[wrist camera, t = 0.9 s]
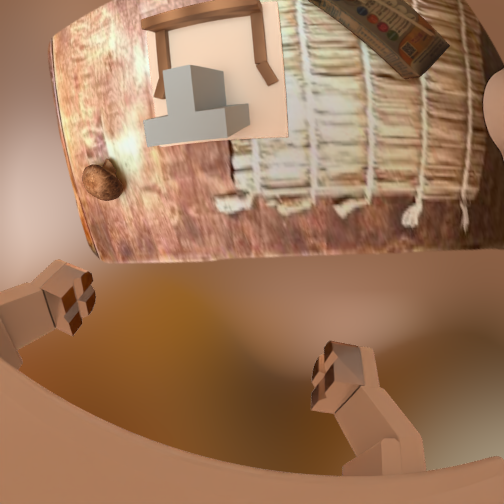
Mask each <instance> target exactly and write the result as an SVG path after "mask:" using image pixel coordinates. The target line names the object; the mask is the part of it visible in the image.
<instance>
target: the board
mask: <svg viewBox="0 0 504 504" xmlns="http://www.w3.org/2000/svg"><path fill="white" fill-rule="evenodd" d="M261 4H262V9H263V19H264V29H265V40H266V51H267V62H268V64H269V66H270V67H271V69H272V70H273V72H274V74H275V75H276V77H277V79H278V80H279V81H278V82H276V83H274V84H272V85H270V86H268V85H267V84H266V82H265V80H264V79H263V77H262V75H261V74H260V72H259V71H258V69H257V67H256V65H258V64H255V61H254V50H253V39H252V29H251V18H250V16H243V17H236V18H229V19H222V20H216V21H211V22H205V23H200V24H196V25H191V26H187V27H182V28H178V29H174V30H170V31H168V35H169V47H170V59H171V68H176V67H181V66H186V65H195V66H201V67H206V68H211V69H215V70H220V71H223V74H224V84H225V95H226V105H235V104H247V103H248V106H249V118H250V125H248V126H247V127H245V128H243V129H241V130H240V131H238V132H236V133H235V134H233V135H231V136H230V137H228V138H218V139H207V140H197V141H188V142H180V143H172V144H165V145H160V147H165V146H173V145H181V144H189V143H199V142H209V141H221V140H234V139H251V138H278V137H288V121H287V104H286V90H285V76H284V63H283V51H282V40H281V30H280V20H279V10H278V3H277V1H273V2H261ZM147 43H148V55H149V66H150V76H151V85H152V93H153V96H154V93H155V90H156V86H157V83H158V80H159V72H158V62H157V51H156V38H155V32H151V31H147ZM153 101H154V109H155V117H159V116H164V115H168V112H167V105H166V99H159V98H155V97H153Z"/></svg>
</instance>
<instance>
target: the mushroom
mask: <svg viewBox="0 0 504 504" xmlns="http://www.w3.org/2000/svg"><path fill="white" fill-rule="evenodd" d="M82 181H83V184H84V187H85V189H86V190H87V191H88V193H90V194H91V195H93V196H94V197H96V198H98V199H100V200H105V201H109V200H114V199H116V198H118V197H119V196H120V194H121V192H122V190H123V185H122V183H121V182H120V181H119V180H118V178H117V177H116V170H115V168H114V166H113V164H112V163H111V162H110V161H109V160H108V159H106V161H105V163H104V165H103V167H101V166H99V165H90V166H88V167H86V168H85V169H84V172H83V176H82Z"/></svg>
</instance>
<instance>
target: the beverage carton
mask: <svg viewBox="0 0 504 504" xmlns="http://www.w3.org/2000/svg"><path fill="white" fill-rule="evenodd" d="M308 1H310V2H312V3H313V4H315V5H316V6H318V7H319V8H321V9H322V10H324V11H325V12H326V13H328V14H329V15H331V16H332V17H333V18H335V19H336V20H338V21H339V22H340V23H342V24H343V25H344V26H345V27H347V28H348V29H349V30H351V31H352V32H353V33H354V34H356V35H357V36H358V37H359V38H360V39H361V40H363V41H364V42H365V43H366V44H367V45H369V46H370V47H371V48H372V49H373V50H374V51H375V52H377V53H378V54H379V55H380V56H381V57H382V58H383V59H384V60H385V61H387V62H388V63H389V64H390V65H391V66H392V67H393V68H394V69H395V70H396V71H397V72H398V73H399V74H400V75H402V77H403V78H404V79H409V78H416V77H420V76H421V75H423V74H424V73H425V72H426V71H427V70H428V69H429V68H430V67H431V66H432V65H433V64H434V63H435V62H436V60H437V59H438V58H439V57H440V56H441V55H442V54H443V53H444V52H445V51H446V49H447V48H448V47H449V46H450V45H449V44H448V43H447V42H446V41H445V40H444V39H443V38H442V36H441V35H440V34H439V33H438V32H437V31H436V30H435V29H434V28H433V27H432V26H431V25H430V24H429V23H428V22H427V21H426V20H425V19H424V18H422V17H421V16H420V15H419V14H418V13H417V12H416V11H415V10H414V9H413V8H411V7H410V6H409V5H408V4H407V3H406V2H405V1H403V0H308Z"/></svg>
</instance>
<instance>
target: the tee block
mask: <svg viewBox="0 0 504 504" xmlns="http://www.w3.org/2000/svg"><path fill="white" fill-rule="evenodd" d="M163 79H164V88H165V96H166V105H167V112H168V115H164V116H159V117H155V118H151V119H148V120H144V121H143V122H144V129H145V136H146V142H147V147H151V146H158V145H165V144H172V143H180V142H188V141H197V140H207V139H218V138H228V137H230V136H231V135H233V134H235V133H236V132H238V131H240V130H241V129H243V128H245V127H247V126H248V125H250V118H249V106H248V103H247V104H235V105H226V95H225V84H224V74H223V71H220V70H215V69H211V68H206V67H201V66H195V65H186V66H181V67H176V68H171V69H167V70H163Z"/></svg>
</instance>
